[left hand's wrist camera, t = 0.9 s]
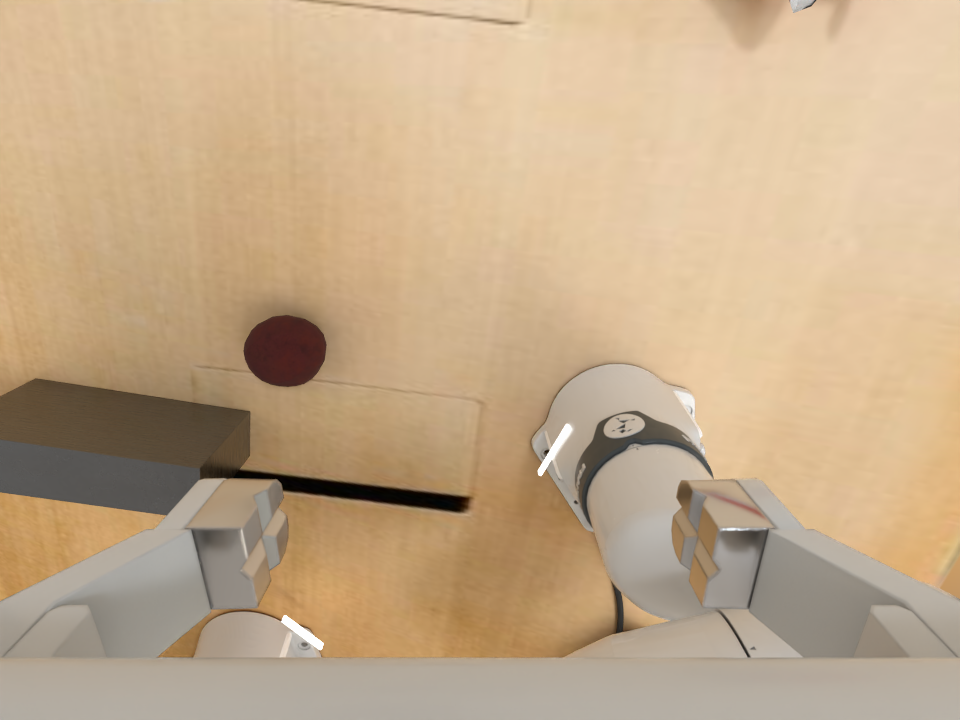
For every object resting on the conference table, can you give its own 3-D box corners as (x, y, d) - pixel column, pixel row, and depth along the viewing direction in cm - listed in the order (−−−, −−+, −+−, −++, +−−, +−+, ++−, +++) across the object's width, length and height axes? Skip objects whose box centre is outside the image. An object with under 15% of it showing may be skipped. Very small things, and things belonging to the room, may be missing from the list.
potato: (249, 321, 54) (217, 344, 47) (314, 295, 53) (291, 315, 46) (283, 380, 57) (258, 410, 50) (346, 357, 56) (329, 384, 49)
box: (250, 411, 58) (199, 468, 48) (249, 456, 60) (200, 520, 50) (35, 378, 57) (-67, 430, 46) (42, 425, 59) (-54, 485, 48)
